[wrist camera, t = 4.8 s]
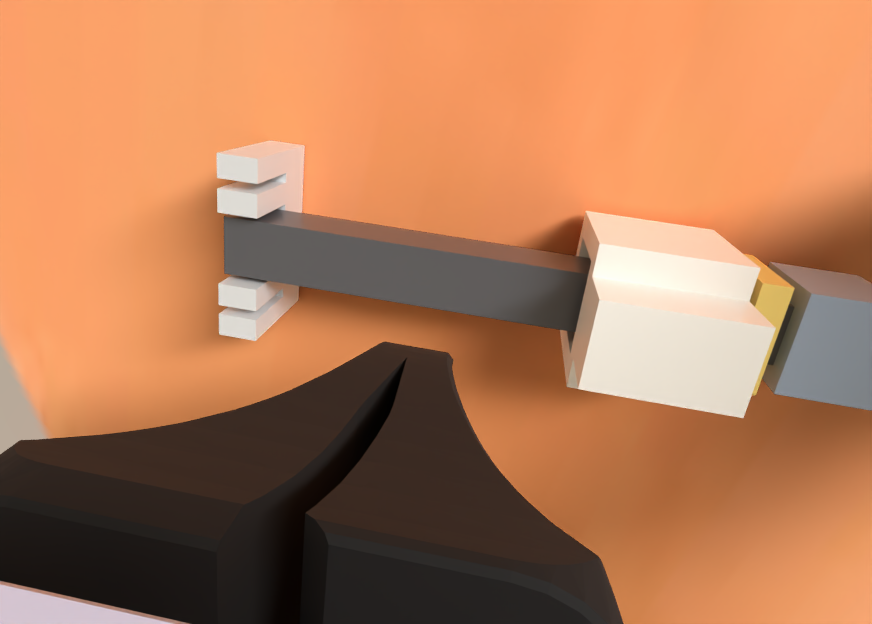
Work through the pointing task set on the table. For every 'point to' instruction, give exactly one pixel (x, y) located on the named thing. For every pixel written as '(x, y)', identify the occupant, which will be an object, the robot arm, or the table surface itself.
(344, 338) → the table surface
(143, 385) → the table surface
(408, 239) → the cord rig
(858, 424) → the table surface
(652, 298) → the sleeve
